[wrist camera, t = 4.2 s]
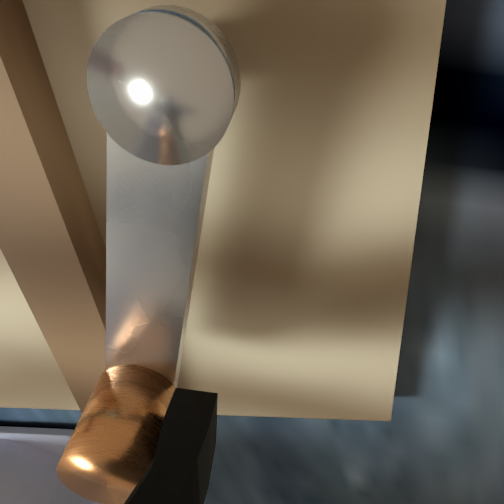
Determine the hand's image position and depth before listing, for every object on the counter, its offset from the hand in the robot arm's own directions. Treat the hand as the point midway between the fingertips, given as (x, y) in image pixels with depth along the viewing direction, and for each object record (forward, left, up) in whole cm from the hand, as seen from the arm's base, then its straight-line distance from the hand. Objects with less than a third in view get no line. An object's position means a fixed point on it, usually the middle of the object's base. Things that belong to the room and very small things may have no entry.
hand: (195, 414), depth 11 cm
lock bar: (+4, +1, -1) cm, 4 cm away
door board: (+3, +3, -4) cm, 6 cm away
